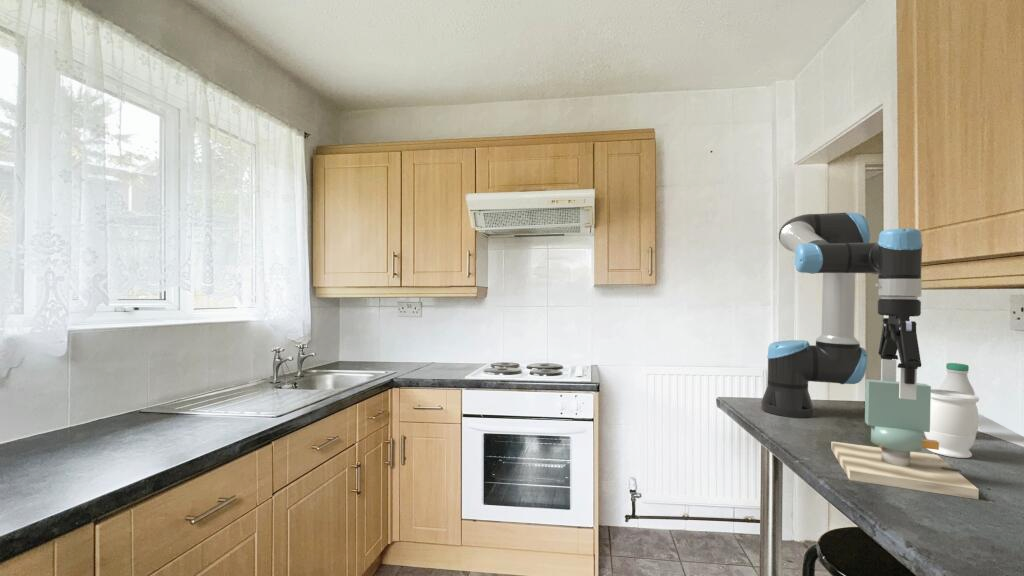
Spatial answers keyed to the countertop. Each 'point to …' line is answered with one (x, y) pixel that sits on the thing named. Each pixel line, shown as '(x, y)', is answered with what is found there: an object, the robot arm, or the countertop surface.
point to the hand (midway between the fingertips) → (897, 392)
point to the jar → (953, 422)
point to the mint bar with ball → (898, 416)
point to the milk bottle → (957, 379)
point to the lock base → (902, 469)
